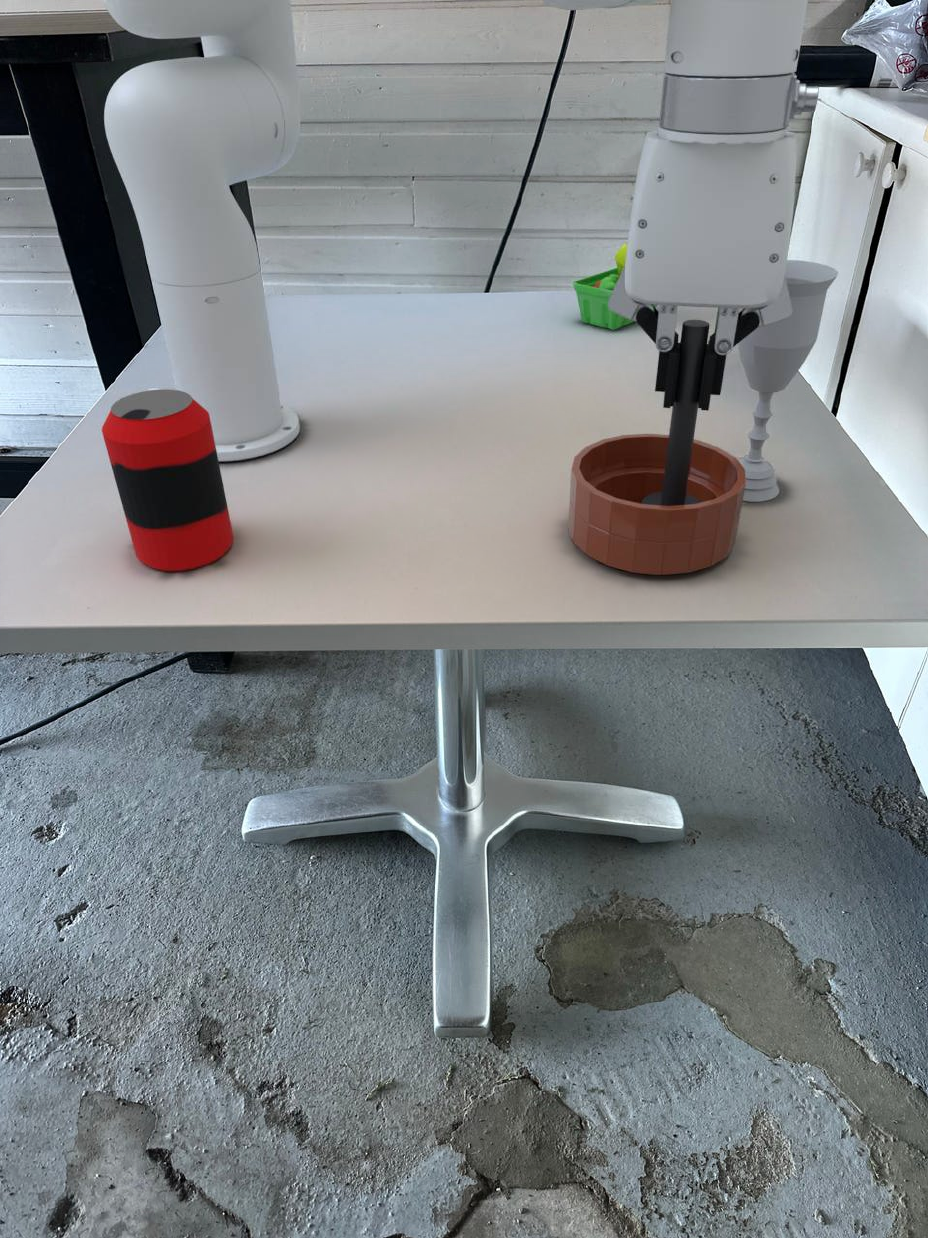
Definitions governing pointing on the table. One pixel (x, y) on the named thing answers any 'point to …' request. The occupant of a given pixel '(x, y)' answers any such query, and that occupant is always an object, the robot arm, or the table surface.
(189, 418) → the soda can
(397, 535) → the table surface
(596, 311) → the fruit basket
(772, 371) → the chalice
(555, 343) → the table surface
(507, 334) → the table surface
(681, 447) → the upright rod on disc
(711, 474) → the bowl
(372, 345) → the table surface
